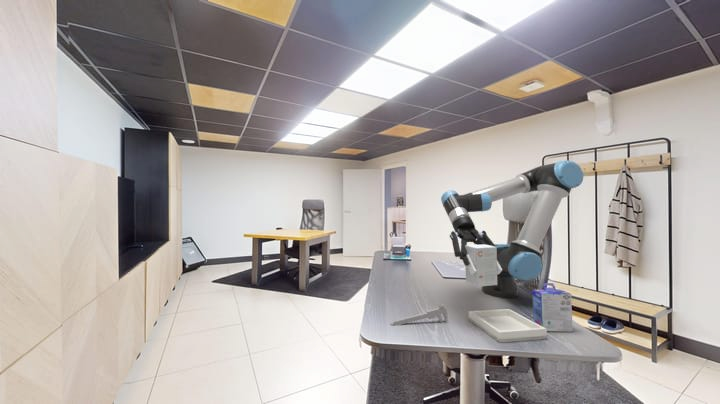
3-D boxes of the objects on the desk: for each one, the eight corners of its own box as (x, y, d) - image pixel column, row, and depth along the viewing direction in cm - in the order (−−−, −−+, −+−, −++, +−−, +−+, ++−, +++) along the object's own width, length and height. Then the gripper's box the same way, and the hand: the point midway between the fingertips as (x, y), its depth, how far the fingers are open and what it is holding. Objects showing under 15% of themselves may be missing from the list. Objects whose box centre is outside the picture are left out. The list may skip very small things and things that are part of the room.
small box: (485, 280, 93) (484, 243, 93) (497, 285, 87) (497, 246, 87) (465, 281, 91) (464, 244, 91) (476, 287, 85) (476, 247, 85)
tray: (508, 317, 94) (508, 308, 94) (546, 338, 78) (546, 328, 79) (468, 319, 92) (468, 311, 92) (499, 342, 76) (499, 332, 76)
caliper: (446, 321, 91) (445, 303, 91) (447, 322, 90) (447, 304, 90) (390, 325, 88) (390, 306, 88) (390, 326, 87) (390, 307, 87)
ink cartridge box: (560, 324, 88) (560, 282, 89) (574, 332, 83) (573, 287, 83) (531, 324, 89) (531, 281, 89) (542, 331, 83) (542, 286, 83)
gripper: (482, 227, 106) (510, 277, 90) (433, 228, 103) (453, 279, 87) (490, 214, 101) (521, 265, 84) (438, 215, 98) (460, 267, 82)
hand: (486, 272), depth 86 cm, fingers closed on small box, 8 cm apart
